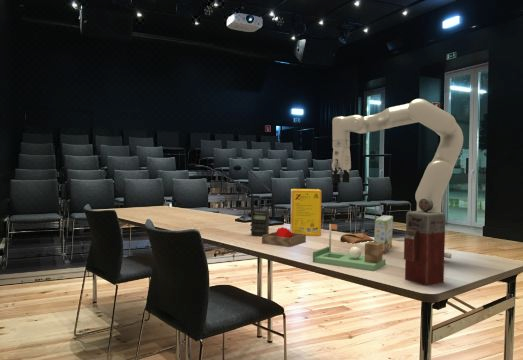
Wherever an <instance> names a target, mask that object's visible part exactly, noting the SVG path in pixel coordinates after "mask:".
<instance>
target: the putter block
mask: <svg viewBox="0 0 523 360" xmlns="http://www.w3.org/2000/svg"><path fill="white" fill-rule="evenodd" d="M383 255H384V254H383V243H380V242H374V241H369V242H364V256H365V262H369V263H377V264H378V263H379V262H381V261H382V258H383Z"/></svg>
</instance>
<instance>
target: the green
mask: <svg viewBox="0 0 523 360" xmlns="http://www.w3.org/2000/svg"><path fill="white" fill-rule="evenodd" d="M328 225H329V227H328V228H329V229H328V230H329V231H328V233H329V234H328V246H326V247H323V248H320V249H317V250H315V251H312V263H316V264H317V263H318V264H323V263H324V265H330V264H331V266H337V267H345V268H350V267H351V268H352V269H358V270H364V271H371V272H374V271H376V270H378V269H379V268H382V267H383V266H384V265H386V258H383V257H382V261H381V262H379V263H378V264H377V263H369V262H365V255H361V256H360V257H359V258H357V259H353V258H351V257H350V255H349V253H342V252H335V251H332V230H338V224H333V223H329V224H328ZM351 268H350V269H351Z"/></svg>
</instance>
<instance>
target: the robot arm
mask: <svg viewBox="0 0 523 360" xmlns="http://www.w3.org/2000/svg"><path fill="white" fill-rule="evenodd" d="M331 123H332V149H333V150H332V163H331V170H332V183H333V184H341V179H342V183H345V184H346V183H350V170H351V169H352V161H351V159H352V158H351V151H350V146H351V142H350V141H351V139H350V134H351V132H352V133H357V134H367V133H368V134H369V133H372V132H373V133H374V132H378V131H382V130H385V129H391V128H394V127H399V126H405V125H411V124H415V123H420V124H421V125H423V126H424V127H426V128H428V129H430V130H431V131H433V132H435V133H436V134H437V135H438V136H440V141H439V144H438V147H437V149H436V152H435V154H434V157H433V158H432V160H431V161H430V162H429V163H428V165H427V166H426V169H425V170H424V173H423V176H422V178H421V180H420V182H419V185H418V187H417V189H416V191H415V195H414V196H415V201H416V211H422V210H421V209H420V208H419V201H420V200H421V199H424V198H429V199H431V200H432V202H433V208H432V209H431V210H430V211H432V212H441V213H442V203H443V201H442V199H443V195H444V194H445V191H446V189H447V186H448V185H449V182H450V180H451V178H452V175H453V172H454V167H455V165H456V163H457V161H458V158H459V156H460V154H461V151H462V149H463V145H464V135H463V134H464V133H463V131H462V128H461V126H459V124H458V123H457V121H456V119H455V117H454V116H453V115H452V114H451V113H449V112H447V111H445V110H443V109H441V108H440V107H438V106H436V105H435V104H433V103H431V102H429V101H428V100H426V99H424V98H416V99H413V100H411V101H410V102H409V103H408V102H407V103H405V104H400V105H395V106H391V107H388V108H387V107H386V108H385V109H384V110H383V111H381V112H378V113H374V114H371V115H366V116H363V115H360V114H353V115H348V116H335V117H333V118H332V121H331ZM341 170H342V171H341ZM341 172H342V178H341V174H340V173H341ZM445 258H446V259H452V253H449V252H444V259H445Z"/></svg>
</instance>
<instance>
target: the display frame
mask: <svg viewBox="0 0 523 360" xmlns="http://www.w3.org/2000/svg"><path fill="white" fill-rule="evenodd" d="M276 232H277V231H275V232H269V234H265V235H262V237H261V244H266V245H272V246H273V245H274V246H279V247H280V246H281V247H288V248H291V247H294V246H298V245H301V244H304V243H306V242H307V236H306V234H299V233H292V237H291V238H285V237H277V235H276Z"/></svg>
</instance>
